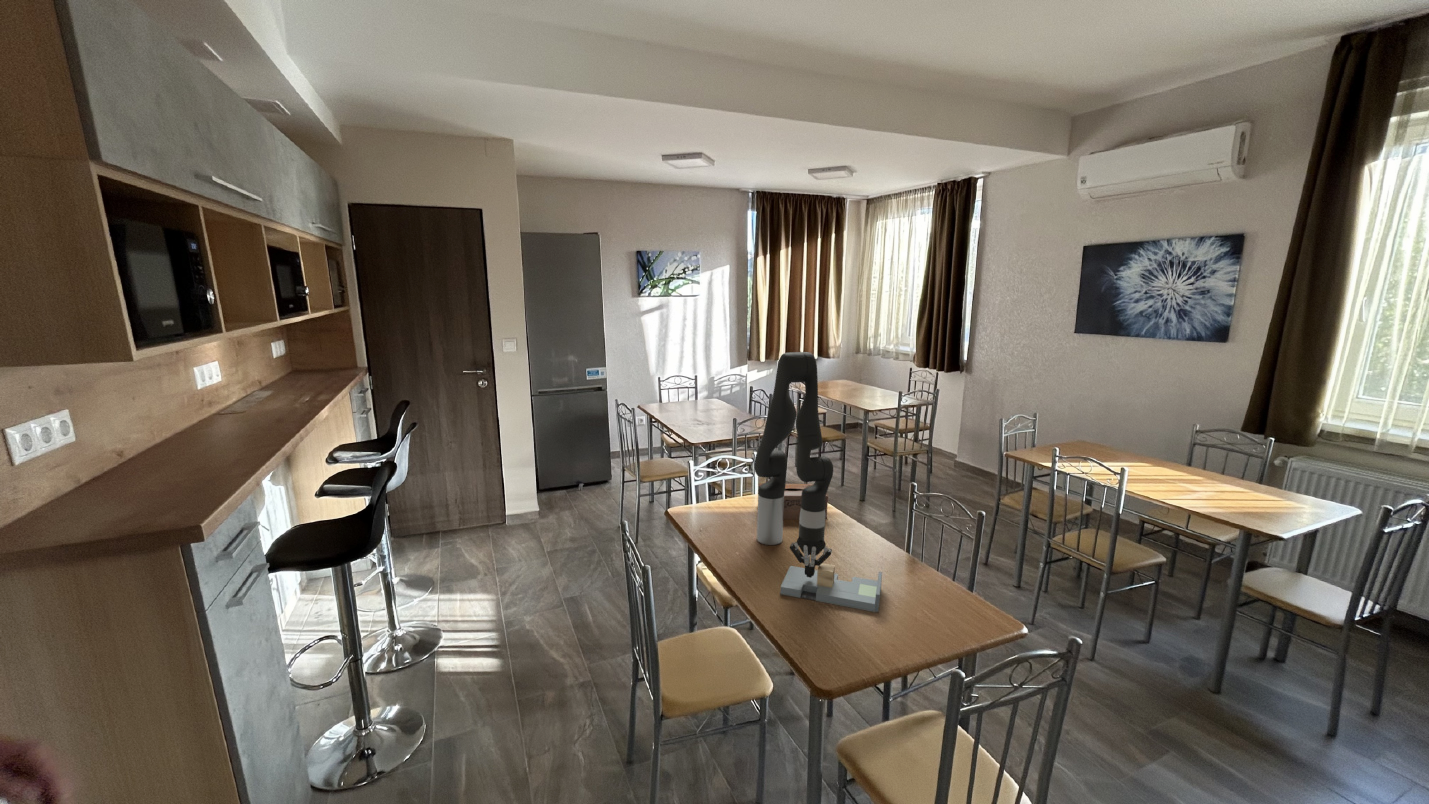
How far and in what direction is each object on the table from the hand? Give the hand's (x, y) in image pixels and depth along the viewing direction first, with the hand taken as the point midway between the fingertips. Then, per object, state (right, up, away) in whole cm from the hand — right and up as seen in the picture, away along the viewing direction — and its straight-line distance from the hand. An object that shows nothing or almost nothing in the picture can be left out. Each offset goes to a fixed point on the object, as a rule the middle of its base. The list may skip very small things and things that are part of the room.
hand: (809, 576), depth 171 cm
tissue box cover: (+3, +7, +60) cm, 60 cm away
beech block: (+5, -2, -1) cm, 5 cm away
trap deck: (+6, -4, -1) cm, 8 cm away
